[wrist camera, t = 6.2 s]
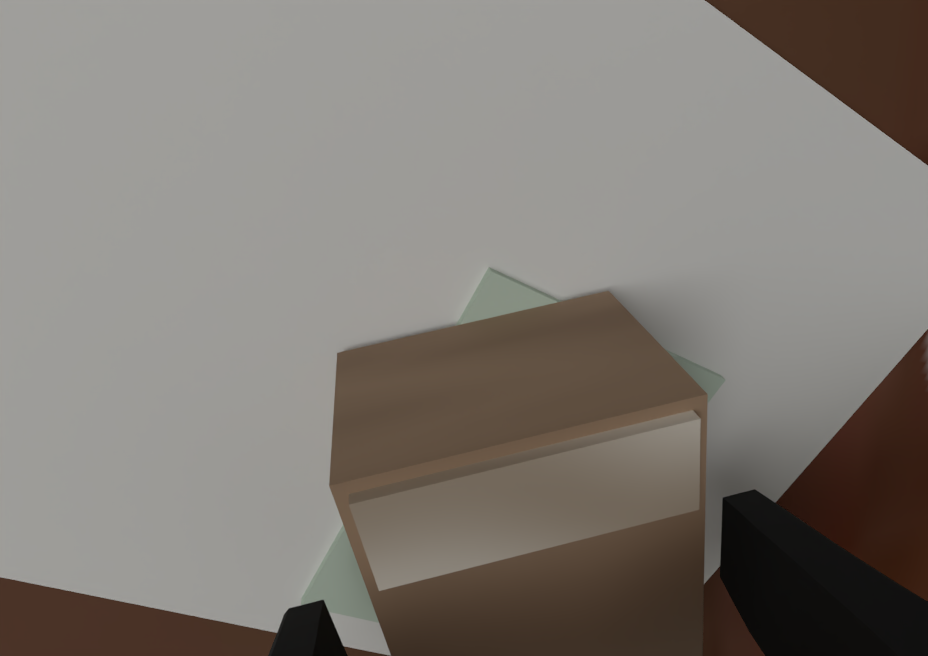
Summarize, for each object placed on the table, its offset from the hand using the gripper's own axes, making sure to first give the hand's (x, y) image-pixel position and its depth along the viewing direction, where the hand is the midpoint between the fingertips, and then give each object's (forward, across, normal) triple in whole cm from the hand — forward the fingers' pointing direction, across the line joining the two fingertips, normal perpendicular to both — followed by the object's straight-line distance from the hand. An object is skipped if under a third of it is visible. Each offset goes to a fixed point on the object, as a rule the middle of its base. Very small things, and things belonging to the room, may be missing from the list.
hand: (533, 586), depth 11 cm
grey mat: (+3, +2, -4) cm, 5 cm away
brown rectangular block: (+2, 0, 0) cm, 2 cm away
